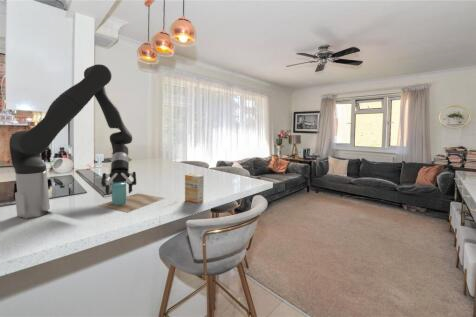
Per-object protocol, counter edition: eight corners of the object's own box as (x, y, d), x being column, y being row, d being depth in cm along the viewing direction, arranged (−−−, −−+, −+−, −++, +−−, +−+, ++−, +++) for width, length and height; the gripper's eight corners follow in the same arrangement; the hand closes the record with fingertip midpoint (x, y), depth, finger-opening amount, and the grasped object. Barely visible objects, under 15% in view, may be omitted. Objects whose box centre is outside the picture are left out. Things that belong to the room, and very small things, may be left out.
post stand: (127, 216, 94) (126, 195, 93) (97, 208, 101) (96, 189, 100) (165, 201, 114) (164, 184, 113) (137, 195, 121) (137, 179, 120)
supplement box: (184, 200, 115) (184, 174, 114) (190, 198, 120) (190, 173, 118) (197, 203, 111) (197, 176, 110) (203, 200, 116) (203, 174, 114)
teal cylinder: (118, 205, 101) (117, 185, 100) (109, 203, 104) (107, 183, 103) (129, 201, 107) (129, 182, 106) (120, 200, 109) (119, 181, 108)
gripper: (102, 159, 108) (99, 190, 99) (135, 158, 113) (136, 187, 104) (104, 168, 113) (102, 198, 104) (136, 167, 118) (136, 195, 109)
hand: (119, 193), depth 104 cm, fingers open, 8 cm apart
